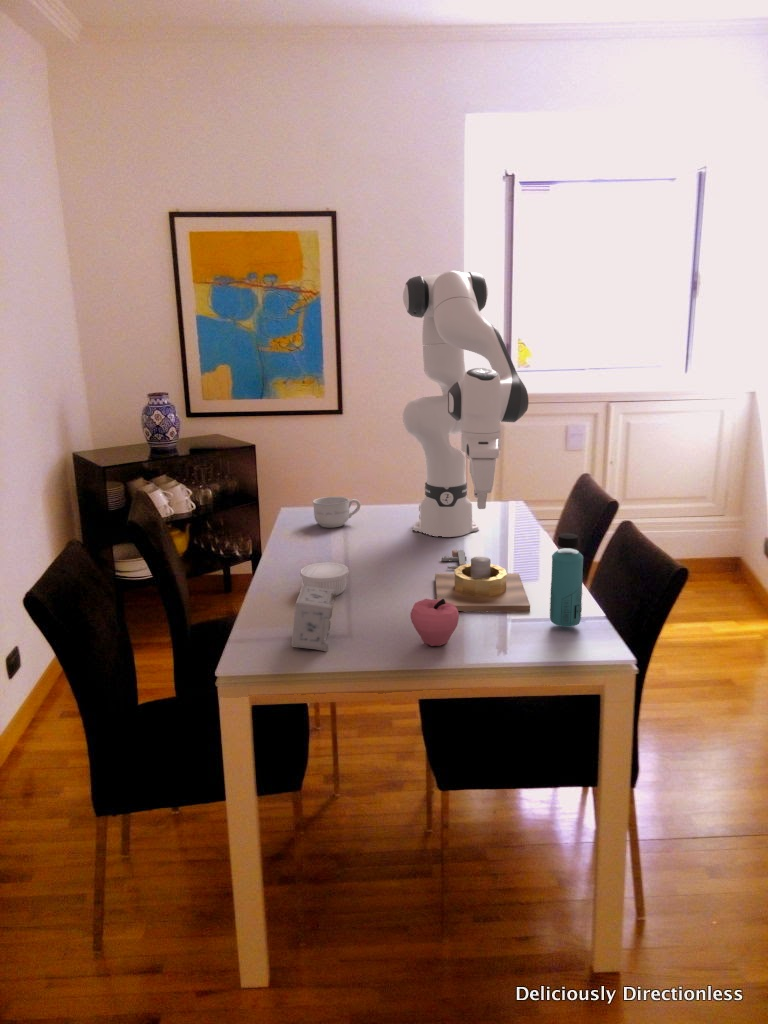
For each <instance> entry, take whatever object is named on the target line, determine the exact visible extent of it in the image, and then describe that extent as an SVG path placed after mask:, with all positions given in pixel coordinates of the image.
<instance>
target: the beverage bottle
mask: <svg viewBox="0 0 768 1024" xmlns="http://www.w3.org/2000/svg"><path fill="white" fill-rule="evenodd" d="M557 538H558V539H557V540H558V541H557V546H559V549H557V550H556V551H555V552H553V554H552V555H551V581H550V597H549V619H550V621H551V623H553V624H554V625H556V626H560V627H575V626H577V625H579V624H580V623H581V620H582V614H583V613H582V608H583V605H582V601H583V582H584V581H583V578H584V577H583V575H584V574H583V568H584V555H583V554H582V553H581V552H580V551H579V550H578V549H575V548H578V547H579V544H580V543H579V536H578V535H577V534H574V533H572V532H571V533H568V532H567V533H565V532H564V533H560V534H559V535H558V537H557Z"/></svg>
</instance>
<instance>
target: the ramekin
mask: <svg viewBox="0 0 768 1024" xmlns="http://www.w3.org/2000/svg"><path fill="white" fill-rule="evenodd" d="M349 573H350V572H349V568H348V566H346V565H344V564H343V563H337V562H328V561H327V562H317V563H311V564H309V565H308V564H307V565H305V566H304V567H302V568H301V569H300V572H299V574H300V577H301V581H302V586H311V587H317V588H326V589H333V590H336V597H337V596H339V595H341V594H342V593H344V591H346V589H347V582H348V575H349Z"/></svg>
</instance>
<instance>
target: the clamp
mask: <svg viewBox="0 0 768 1024" xmlns="http://www.w3.org/2000/svg"><path fill="white" fill-rule="evenodd" d="M451 554H452V555H451V556H448V555H446V556H443V555H442V556H441V562H442V561H449V560H452V561H451V562H453V561H455V562H459V565H452V566H447V567H446V568H447V570H455V569H456V568H458V567H459V566H461V565H466V564H467V556H466V553H465V550H464V549H462V550H461V549H452V550H451ZM449 562H450V561H449Z"/></svg>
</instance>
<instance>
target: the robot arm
mask: <svg viewBox="0 0 768 1024" xmlns="http://www.w3.org/2000/svg"><path fill="white" fill-rule="evenodd" d="M488 295H489V289H488V284H487V282H486V279H485V277H484V276H483V275H482V274H481V273H479V272H473V271H469V272H468V273H467V272H461V271H457V270H447V271H445V272H443V273H435V274H429V275H424V276H422V275H417V276H413V277H410V278H409V279H408V280H407V281H406V282H405V286H404V289H403V294H402V300H403V306H404V308H405V310H406V312H407V314H409V316H410V317H414V318H420V319H422V318H423V321H422V322H423V323H422V335H421V336H422V337H421V339H422V357H423V358H422V359H423V371H424V374H425V375H426V377H427V378H428V379H429V380H431V381H433V382H435V383H437V384H438V385H439V388H440V389H441V393H442V395H433V396H422V397H420V398H416V399H414V400H411V401H410V400H409V402H407V404H405V406H404V409H403V412H402V423H403V427H404V429H405V430H406V432H408V433H409V434H410V435H411V436H412V437H414V438H415V439H416V440H417V442H418V443H419V444H420V446H421V448H422V450H423V454H424V458H425V467H426V473H425V474H426V481H425V483H424V495H425V497H424V498H423V500H422V501H421V502H420V503H419V504H418V512H419V515H418V519H417V521H416V522H415V523H414V525H413V528H412V531H413V530H415V531H414V532H417V531H422V532H424V533H423V534H425V533H427V534H429V535H428V536H431V535H434V537H438V536H442V537H441V538H451V537H453V538H454V537H461V536H465V535H468V534H469V533H473V532H478V531H479V526H478V525H477V523H475V522H474V520H473V502H472V501H471V500H470V499H469V498H468V497H467V496H468V483H467V482H466V474H467V473H466V468H467V467H466V466H467V465H466V462H467V461H466V460H467V459H469V473H470V477H471V481H472V484H473V489H474V491H473V495H474V498H476V499H477V505H476V506H477V509H478V510H485V509H486V508H487V498H488V494H491V493H492V492H493V487H494V482H495V473H496V466H497V465H496V463H497V461H496V460H497V459H499V457H500V452H501V450H502V449H501V448H502V426H501V423H516V422H518V421H519V420H520V419H521V418H522V417H523V416H524V415H525V414H526V413H527V411H528V408H529V395H528V390H527V387H526V385H525V383H524V382H523V381H522V379H521V377H520V376H519V374H518V373H517V370H516V368H515V365H514V363H513V361H512V358H511V356H510V354H509V350H508V349H507V347H506V344H505V342H504V339H503V337H502V336H501V334H500V332H499V329H498V328H497V327H496V326H495V325H493V324H491V323H489V321H487V320H486V318H485V317H484V316H483V315H482V313H481V311H482V310H483V309H484V308H485V307H486V305H487V301H488ZM464 350H465V351H469V352H473V353H474V354H477V355H480V356H481V357H483V358H485V359H486V360H487V362H488V363H489V365H490V367H491V369H490V368H486V367H476V368H472V369H469V370H466V367H465V366H466V365H465V358H464V357H465V356H464ZM457 434H461V435H460V436H461V437H460V440H461V442H460V443H461V444H460V445H461V446H460V447H461V448H460V449H458V448H456V447H454V446H452V444H451V442H450V435H457ZM463 452H464V453H465V454H466V456H465V455H464V453H463ZM422 532H421V533H422ZM427 534H426V535H427Z"/></svg>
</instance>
